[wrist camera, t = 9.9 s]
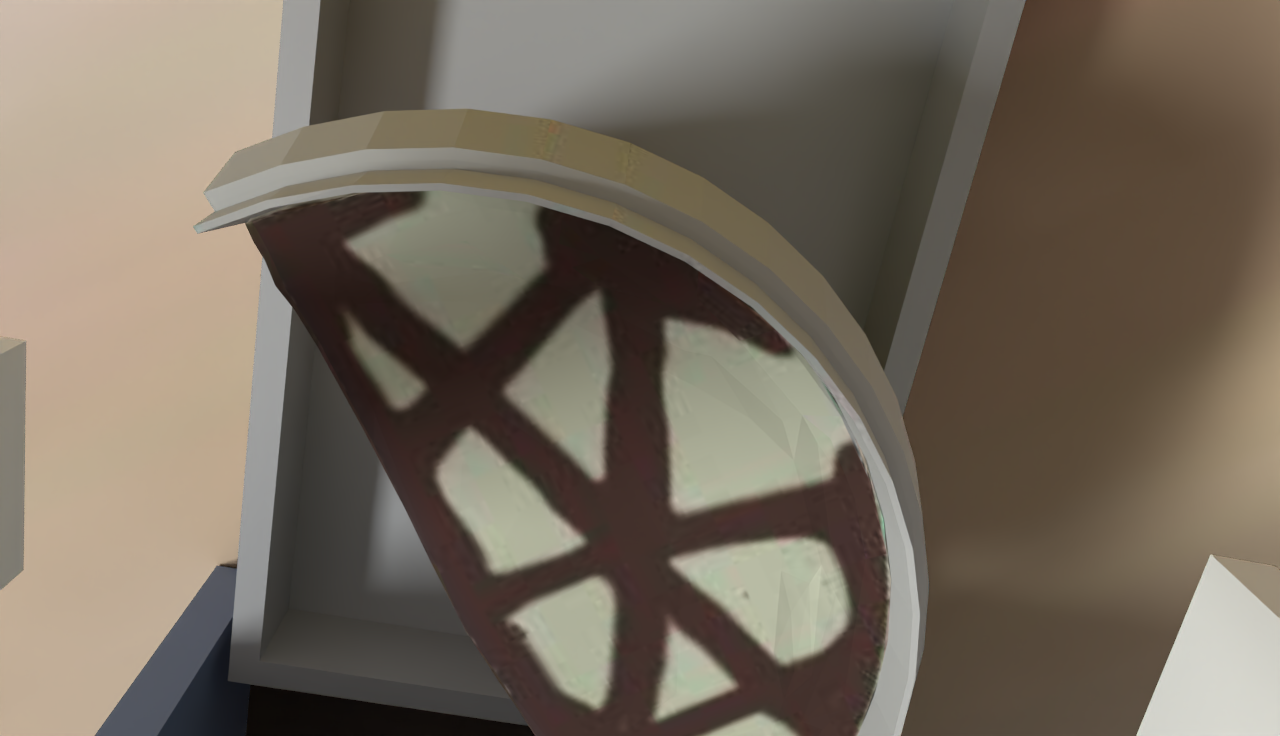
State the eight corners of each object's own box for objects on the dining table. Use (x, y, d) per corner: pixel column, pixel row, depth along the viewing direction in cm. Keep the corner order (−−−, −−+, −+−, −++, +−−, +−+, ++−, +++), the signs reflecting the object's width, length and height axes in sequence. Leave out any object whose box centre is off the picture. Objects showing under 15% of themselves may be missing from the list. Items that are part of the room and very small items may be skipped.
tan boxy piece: (1060, -64, 20) (2117, -237, 6) (835, 690, 26) (1103, 1536, 11) (273, -237, 19) (-751, -970, 5) (212, 594, 24) (-351, 1405, 10)
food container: (898, 511, 23) (1094, 864, 14) (640, 613, 24) (655, 1015, 14) (677, -42, 19) (735, -91, 10) (379, 98, 20) (163, 178, 10)
